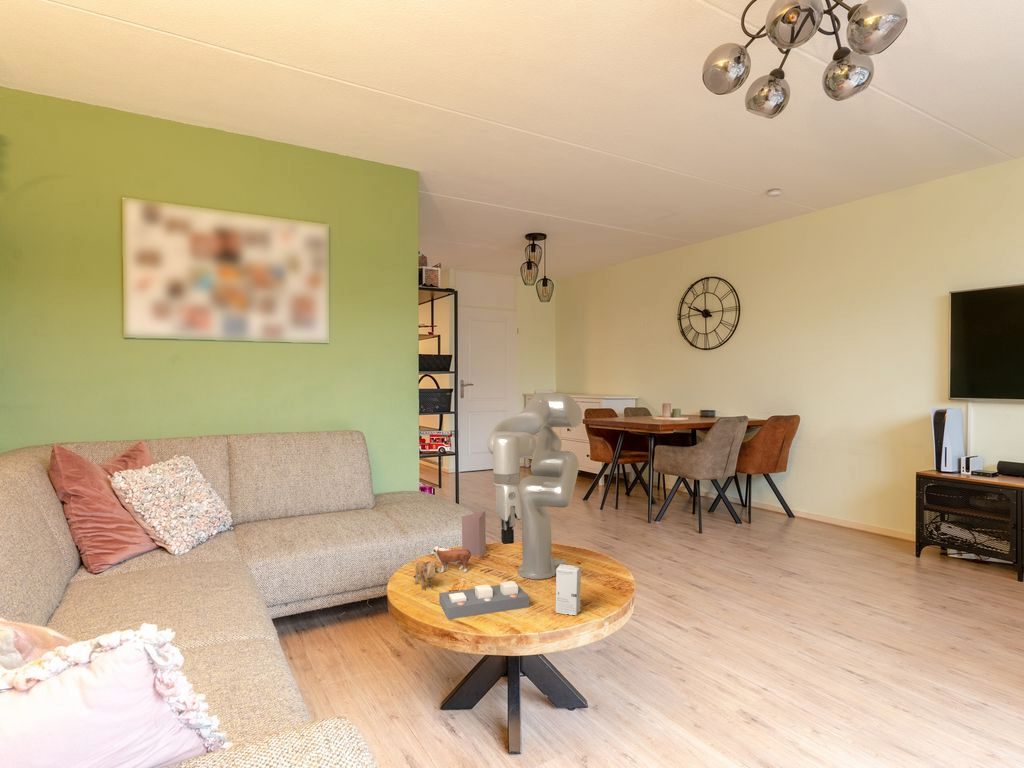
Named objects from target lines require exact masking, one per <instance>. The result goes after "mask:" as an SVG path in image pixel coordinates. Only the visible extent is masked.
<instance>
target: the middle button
mask: <svg viewBox="0 0 1024 768" xmlns="http://www.w3.org/2000/svg"><path fill="white" fill-rule="evenodd" d="M490 586H491V585H490V584H489V583H487V584H482V585H481V584H480V585H475V586H474V588H475V596H476V597H477V599H482V598H489V597H493V589H492V588H491V587H490Z"/></svg>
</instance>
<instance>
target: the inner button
mask: <svg viewBox="0 0 1024 768" xmlns="http://www.w3.org/2000/svg"><path fill="white" fill-rule="evenodd" d="M517 584H518V583H517ZM517 584H516V582H515V581H514V580H511V581H505V582H504V581H503V582H500V583H499V585H500V592H501V593H502V594H503V595H510V594H517V593H518V585H517Z"/></svg>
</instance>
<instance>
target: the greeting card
mask: <svg viewBox="0 0 1024 768" xmlns="http://www.w3.org/2000/svg"><path fill="white" fill-rule="evenodd" d="M486 531H487V530H486V510H481V511H477V512H475V513H470V514H466V515H461V550H464V549H468V550H469V551H470V552H471V557H472V556H475V555H478V561H479V562H480V561H481V560H482V559H483V556H484V555H485V553H486V552H487V550H486V549H487V548H486V547H487V544H486V543H487V542H486V538H487V535H486ZM469 556H470V554H469Z"/></svg>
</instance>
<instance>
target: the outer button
mask: <svg viewBox="0 0 1024 768" xmlns="http://www.w3.org/2000/svg"><path fill="white" fill-rule="evenodd" d="M449 600H450V602H451V603H454V602H461V601H466V596H465V595H464V593H463V592H461V593H454V594H449Z"/></svg>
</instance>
